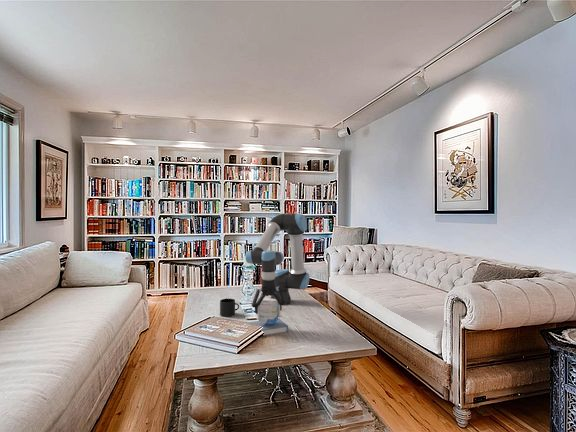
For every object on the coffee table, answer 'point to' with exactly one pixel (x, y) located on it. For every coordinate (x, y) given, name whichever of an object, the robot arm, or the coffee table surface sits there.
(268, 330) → the book
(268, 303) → the ink box
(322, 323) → the coffee table surface
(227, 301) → the mug
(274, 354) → the coffee table surface
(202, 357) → the coffee table surface
